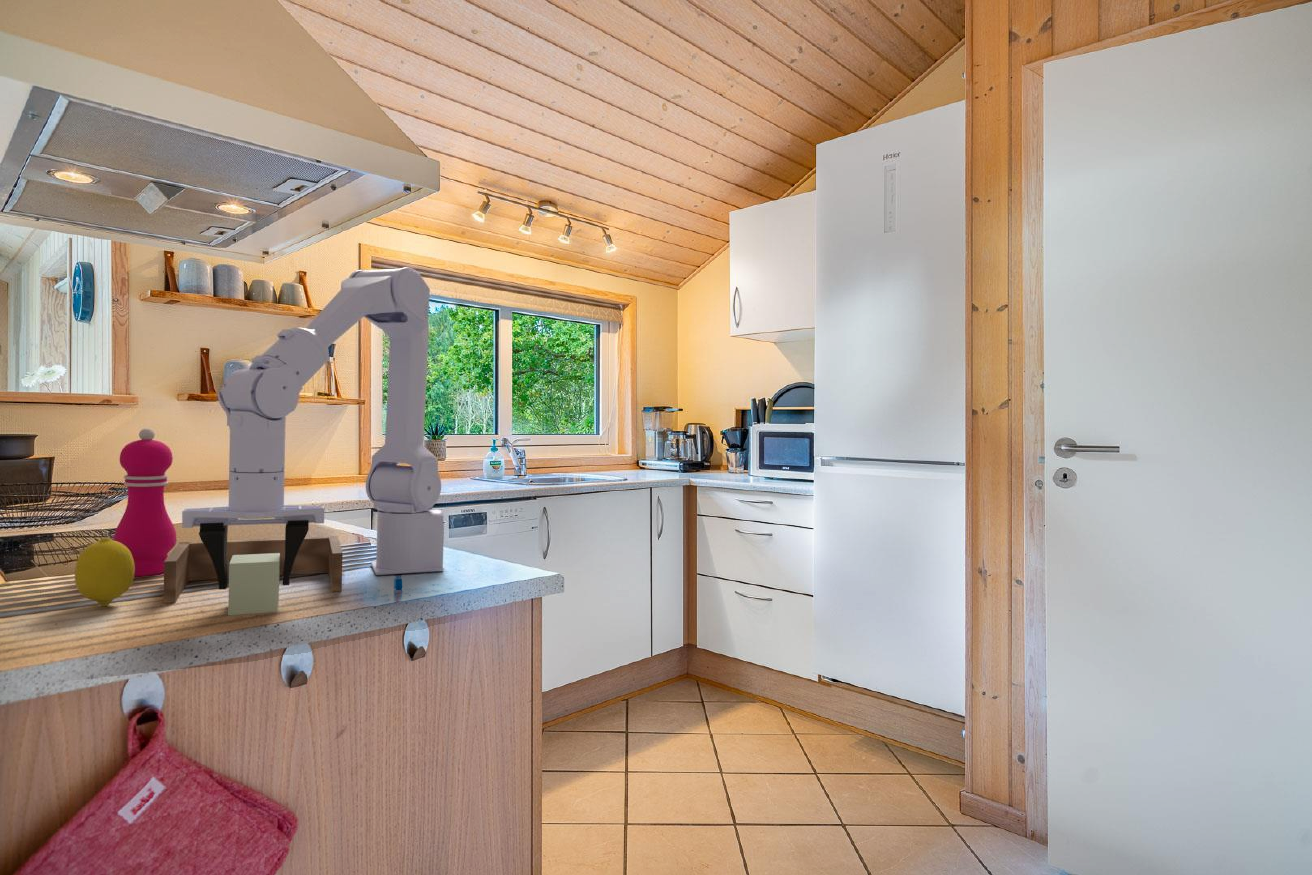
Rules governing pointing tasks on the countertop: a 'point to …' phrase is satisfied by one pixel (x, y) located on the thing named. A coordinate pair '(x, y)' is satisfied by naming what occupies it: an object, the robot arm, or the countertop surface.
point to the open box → (197, 564)
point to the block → (254, 583)
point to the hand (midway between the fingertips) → (255, 585)
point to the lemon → (104, 571)
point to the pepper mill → (146, 504)
